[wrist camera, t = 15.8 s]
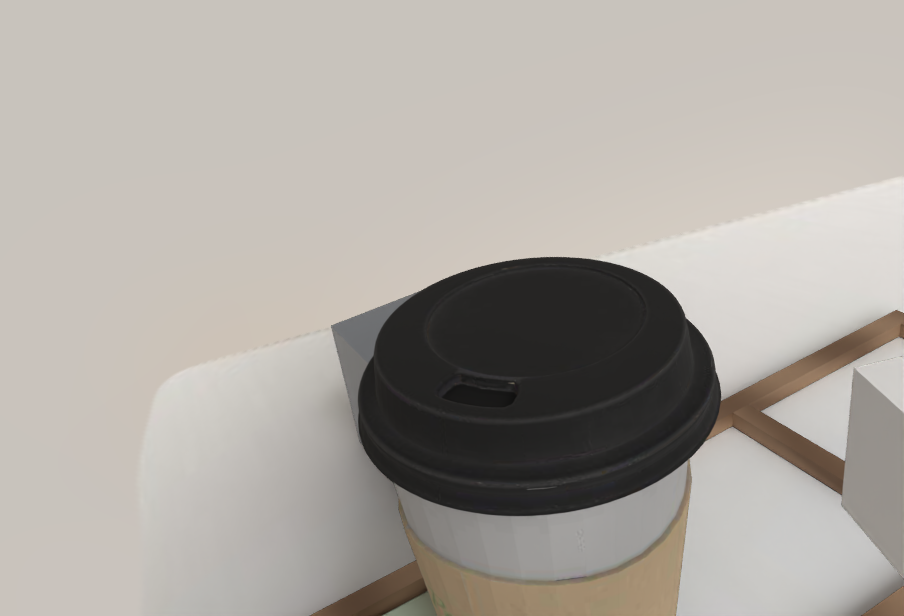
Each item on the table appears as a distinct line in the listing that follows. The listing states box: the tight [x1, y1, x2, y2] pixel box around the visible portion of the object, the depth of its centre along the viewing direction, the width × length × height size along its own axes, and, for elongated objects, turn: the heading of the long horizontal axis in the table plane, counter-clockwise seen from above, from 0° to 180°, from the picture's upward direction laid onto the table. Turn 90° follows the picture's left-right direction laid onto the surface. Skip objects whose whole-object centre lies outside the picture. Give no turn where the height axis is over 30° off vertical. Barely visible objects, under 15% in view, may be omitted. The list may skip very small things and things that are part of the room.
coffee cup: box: [358, 257, 721, 616], centre depth 25 cm, size 9×9×15 cm
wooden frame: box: [310, 310, 904, 616], centre depth 34 cm, size 37×13×1 cm, turn 119°
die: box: [331, 291, 420, 443], centre depth 40 cm, size 7×7×7 cm
